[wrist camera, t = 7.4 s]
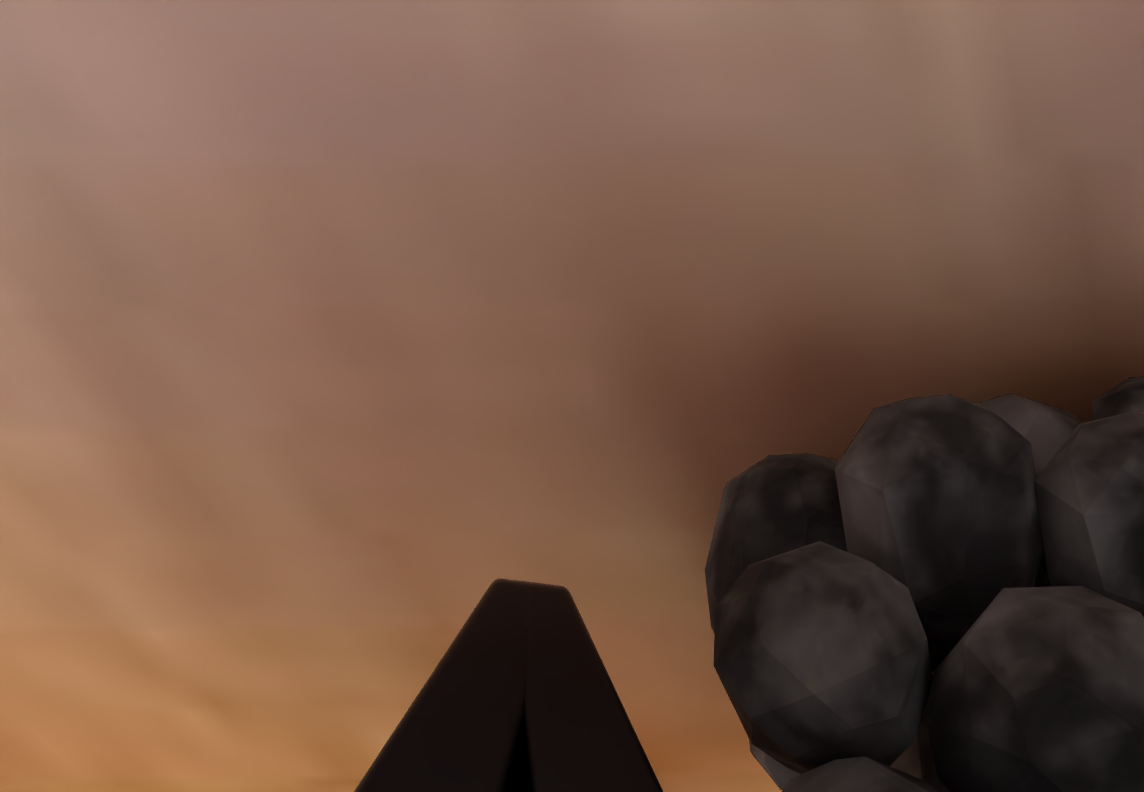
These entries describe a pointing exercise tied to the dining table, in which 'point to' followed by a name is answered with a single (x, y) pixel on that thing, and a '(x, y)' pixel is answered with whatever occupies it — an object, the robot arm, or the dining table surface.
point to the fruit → (942, 601)
